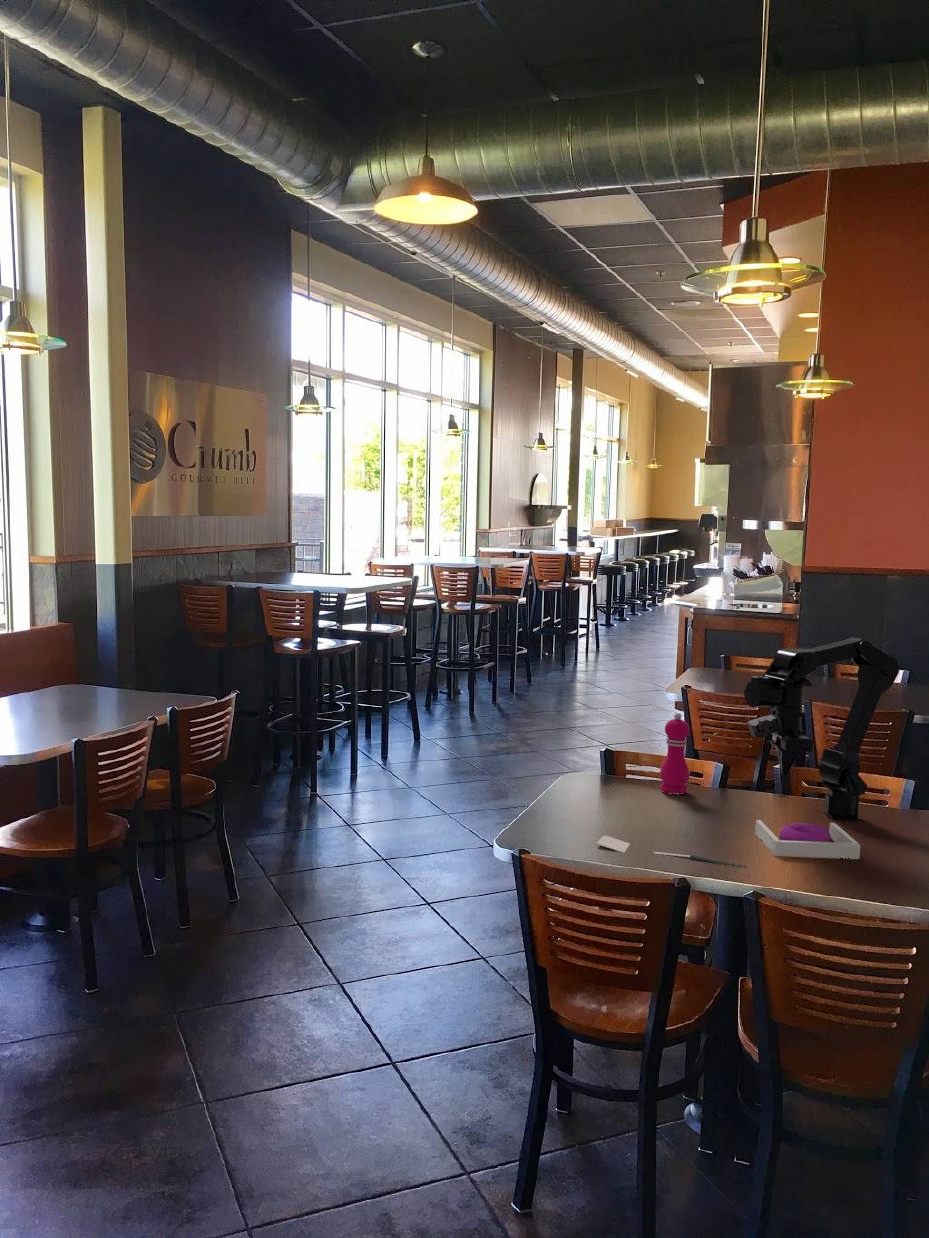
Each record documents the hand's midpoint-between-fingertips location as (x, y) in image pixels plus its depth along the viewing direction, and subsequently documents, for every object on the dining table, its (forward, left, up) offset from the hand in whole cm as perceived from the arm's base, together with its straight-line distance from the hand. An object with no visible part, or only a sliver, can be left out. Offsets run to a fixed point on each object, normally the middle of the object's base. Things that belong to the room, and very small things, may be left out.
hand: (784, 773), depth 218 cm
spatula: (+30, +25, -12) cm, 41 cm away
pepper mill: (+20, -23, -11) cm, 32 cm away
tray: (0, +16, -11) cm, 20 cm away
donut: (0, +17, -12) cm, 20 cm away
